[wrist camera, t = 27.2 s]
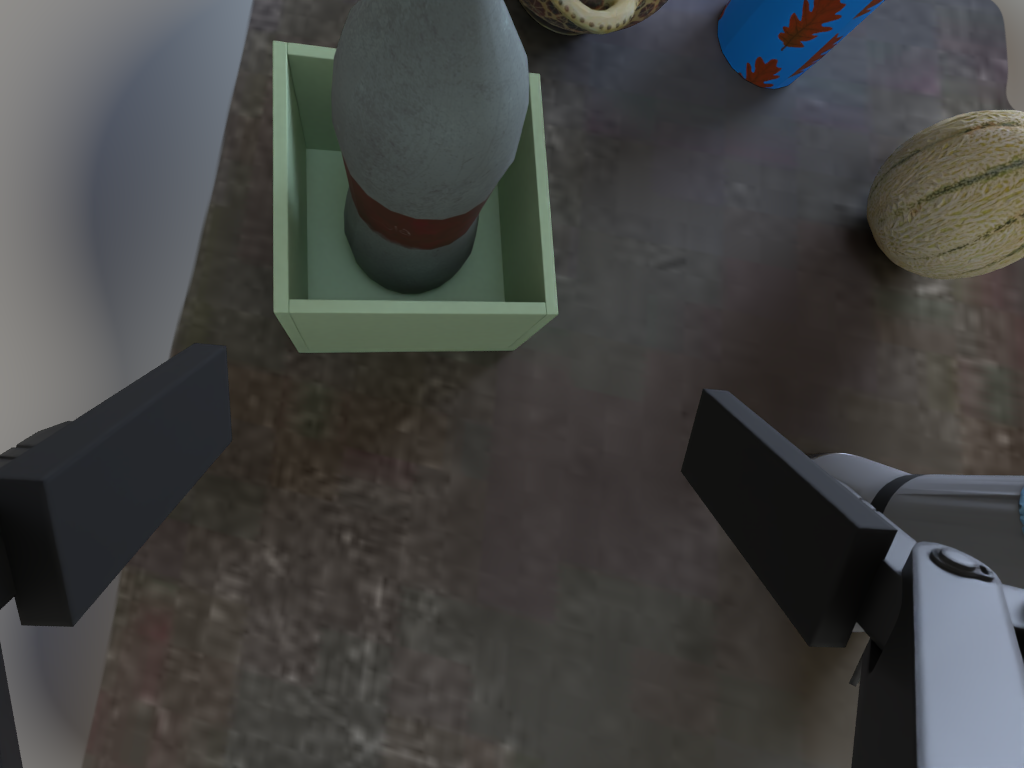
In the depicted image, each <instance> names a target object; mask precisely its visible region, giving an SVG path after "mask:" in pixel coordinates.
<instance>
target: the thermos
mask: <svg viewBox="0 0 1024 768" xmlns="http://www.w3.org/2000/svg"><path fill="white" fill-rule="evenodd" d="M884 1H885V0H729V2H728V3H727V5H726V6H725V8H724V10H723V12H722V14H721V16H720V18H719V20H718V39H719V42H720V46H721V49H722V52H723V54H724V55H725V57H726V59H727V60H728V62H729V63H730V65H731V67H732V68H733V69H734V70H735V71H736V72H738V73H739V74H740V75H741V76H742V77H743V78H744V79H745V80H747V81H749V82H751V83H753V84H755V85H757V86H759V87H764V88H771V89H777V88H781V87H784V86H788V85H789V84H791V83H792V82H793V81H794V80H795V79H797V78H798V77H799V76H800V75H801V74H803V73H804V72H805V71H806V70H808V69H809V68H810V67H811V66H812V65H814V64H815V63H816V62H817V61H819V60H820V59H821V58H822V57H823V56H824V55H825V54H826V53H828V52H829V51H830V50H831V49H832V48H833V47H834V46H835V45H836V44H837V43H839V42H840V41H841V40H842V39H843V38H844V37H845V36H846V35H847V34H848V33H850V32H851V31H852V30H853V29H854V28H855V27H856V26H857V25H858V24H859V23H861V22H862V21H863V20H864V19H865V18H866V17H867V16H868V15H869V14H870V13H872V12H873V11H874V10H875V9H876V8H877V7H878V6H879V5H880V4H881V3H882V2H884Z"/></svg>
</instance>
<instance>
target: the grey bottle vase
mask: <svg viewBox="0 0 1024 768" xmlns="http://www.w3.org/2000/svg"><path fill="white" fill-rule="evenodd" d="M528 104H529V72H528V60H527V55H526V52H525V50H524V47H523V45H522V43H521V40H520V38H519V36H518V33H517V31H516V29H515V26H514V24H513V21H512V19H511V17H510V14H509V12H508V10H507V7H506V5H505V3H504V0H359V1H358V2H357V3H356V4H355V5H354V6H353V8H352V9H351V10H350V12H349V14H348V17H347V20H346V23H345V25H344V28H343V31H342V34H341V36H340V40H339V43H338V46H337V49H336V52H335V55H334V62H333V75H332V89H331V105H332V123H333V126H334V130H335V133H336V136H337V139H338V142H339V146H340V149H341V153H342V157H343V161H344V166H345V170H346V174H347V179H348V183H349V188H348V192H347V196H346V202H345V208H344V232H345V235H346V237H347V240H348V242H349V245H350V248H351V250H352V252H353V255H354V257H355V260H356V262H357V264H358V265H359V266H360V267H361V268H362V270H363V271H364V272H365V273H366V274H367V276H368V277H369V278H371V279H372V280H373V281H375V282H376V283H378V284H380V285H381V286H383V287H384V288H386V289H388V290H391V291H395V292H398V293H402V294H419V293H423V292H426V291H429V290H432V289H435V288H438V287H440V286H441V285H443V284H444V283H445V282H447V281H448V280H450V279H451V278H452V277H453V276H454V275H455V274H456V273H457V272H458V271H459V269H460V268H461V267H462V265H463V264H464V263H465V261H466V260H467V258H468V257H469V256H470V254H471V252H472V248H473V245H474V241H475V237H476V233H477V227H478V221H479V213H480V211H481V209H482V208H483V206H484V205H485V203H486V201H487V200H488V198H489V196H490V195H491V193H492V191H493V190H494V188H495V186H496V185H497V183H498V182H499V180H500V179H501V178H502V176H503V175H504V173H505V172H506V171H507V169H508V168H509V166H510V165H511V164H512V162H513V161H514V159H515V155H516V151H517V147H518V144H519V140H520V136H521V132H522V128H523V124H524V120H525V116H526V112H527V108H528Z"/></svg>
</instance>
